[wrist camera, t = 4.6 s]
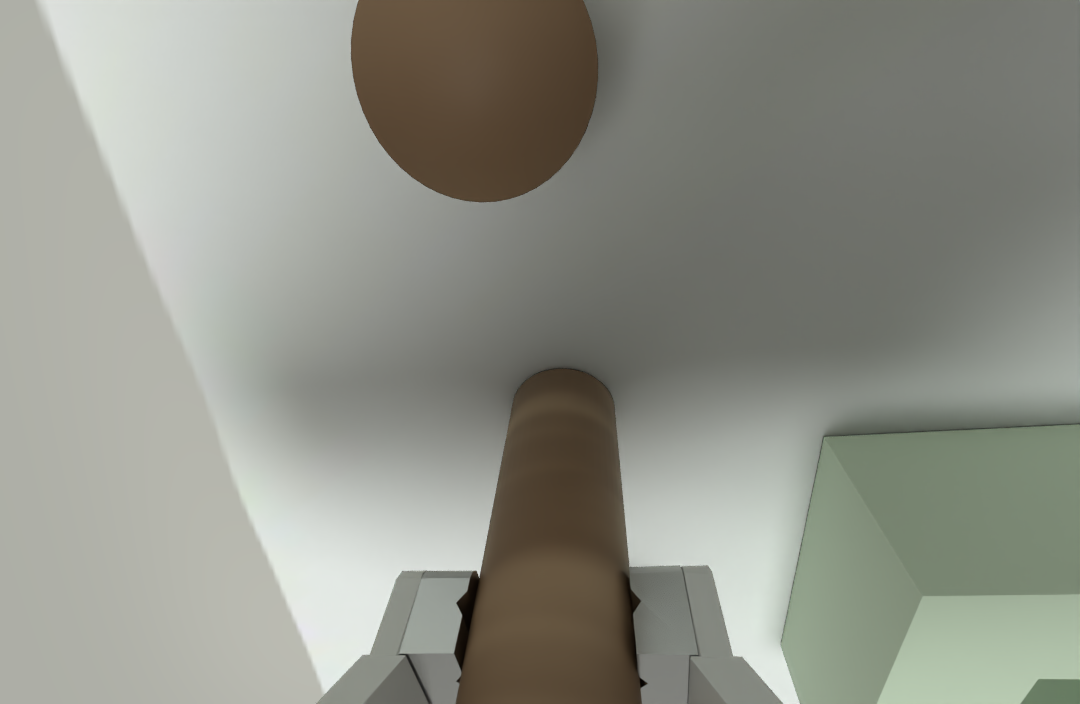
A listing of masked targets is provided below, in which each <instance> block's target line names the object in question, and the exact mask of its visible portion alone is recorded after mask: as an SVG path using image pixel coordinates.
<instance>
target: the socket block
mask: <svg viewBox="0 0 1080 704" xmlns="http://www.w3.org/2000/svg"><path fill="white" fill-rule="evenodd" d="M781 648H782V651H783V654H784V657H785V660H786V663H787V666H788V669H789V672H790V675H791V678H792V681H793V684H794V687H795V690H796V693H797V696H798V699H799V702H800V704H1080V424H1076V425H1055V426H1035V427H1014V428H994V429H974V430H953V431H933V432H913V433H892V434H872V435H852V436H831V437H824V439H823V444H822V449H821V454H820V459H819V463H818V468H817V473H816V478H815V483H814V488H813V492H812V497H811V502H810V507H809V512H808V517H807V521H806V526H805V531H804V536H803V541H802V545H801V550H800V555H799V560H798V565H797V570H796V574H795V579H794V584H793V589H792V594H791V599H790V603H789V608H788V613H787V618H786V623H785V628H784V632H783V637H782V642H781Z"/></svg>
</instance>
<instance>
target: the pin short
mask: <svg viewBox="0 0 1080 704" xmlns="http://www.w3.org/2000/svg"><path fill="white" fill-rule="evenodd" d="M351 61H352V70H353V78H354V82H355V87H356V91H357V95H358V98H359V101H360V104H361V107H362V110H363V113H364V115H365V117H366V119H367V121H368V123H369V126H370V128H371V129H372V131H373V133H374V134H375V136H376V138H377V139H378V141H379V143H380V144H381V145H382V147H383V148H384V149H385V151H386V152H387V153H388V155H389V156H390V157H391V158H392V159H393V160H394V161H395V162H396V163H397V164H398V165H399V166H400V167H401V168H402V169H403V170H404V171H405V172H407V173H408V174H409V175H410V176H411V177H412V178H414V179H415V180H417V181H418V182H420V183H421V184H423V185H425V186H426V187H428V188H430V189H432V190H434V191H436V192H438V193H441V194H443V195H446V196H449V197H452V198H456V199H460V200H465V201H473V202H496V201H501V200H507V199H511V198H514V197H517V196H520V195H523V194H525V193H527V192H529V191H531V190H533V189H535V188H537V187H538V186H540V185H541V184H543V183H544V182H546V181H547V180H549V179H550V178H551V177H552V176H553V175H554V174H555V173H557V172H558V171H559V170H560V169H561V168H562V166H563V165H564V164H565V163H566V162H567V161H568V160H569V158H570V157H571V155H572V154H573V152H574V151H575V149H576V148H577V146H578V145H579V143H580V141H581V139H582V137H583V135H584V133H585V131H586V129H587V126H588V123H589V120H590V118H591V115H592V111H593V107H594V102H595V98H596V91H597V82H598V57H597V48H596V40H595V36H594V32H593V27H592V23H591V20H590V17H589V14H588V12H587V9H586V6H585V3H584V1H583V0H359V1H358V4H357V8H356V12H355V16H354V21H353V29H352V37H351Z"/></svg>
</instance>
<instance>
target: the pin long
mask: <svg viewBox="0 0 1080 704" xmlns="http://www.w3.org/2000/svg"><path fill="white" fill-rule="evenodd" d="M456 704H642V699H641V688H640V677H639V676H638V673H637V662H636V651H635V641H634V626H633V612H632V608H631V595H630V583H629V558H628V548H627V537H626V526H625V515H624V504H623V494H622V483H621V472H620V461H619V450H618V440H617V429H616V418H615V408H614V402H613V399H612V396H611V394H610V392H609V391H608V390H607V388H606V387H605V386H604V385H603V384H602V383H601V382H600V381H598V380H597V379H596V378H594V377H593V376H591V375H589V374H586V373H584V372H581V371H577V370H573V369H551V370H547V371H543V372H540V373H538V374H536V375H534V376H532V377H530V378H529V379H528V380H526V381H525V382H524V383H523V384H522V385H521V386H520V388H519V389H518V390H517V392H516V394H515V397H514V400H513V404H512V410H511V415H510V420H509V425H508V431H507V436H506V441H505V446H504V452H503V457H502V462H501V467H500V473H499V478H498V483H497V488H496V494H495V499H494V504H493V509H492V515H491V520H490V525H489V530H488V536H487V541H486V546H485V551H484V557H483V562H482V567H481V572H480V578H479V583H478V588H477V593H476V599H475V604H474V609H473V615H472V620H471V625H470V630H469V636H468V641H467V646H466V651H465V657H464V662H463V667H462V672H461V678H460V683H459V688H458V693H457V699H456Z"/></svg>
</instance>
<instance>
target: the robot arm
mask: <svg viewBox="0 0 1080 704" xmlns="http://www.w3.org/2000/svg"><path fill="white" fill-rule="evenodd" d="M478 583H479V576H478V574H477V571H402V572H401V573H400V575H399V576H398V578H397V579H396V582H395V584H394V587H393V590H392V593H391V596H390V599H389V602H388V604H387V607H386V610H385V613H384V616H383V619H382V622H381V624H380V627H379V630H378V633H377V636H376V639H375V642H374V644H373V647H372V650H371V653H370V655H362V656H361V657H360V658H359V659H358V660H357V661H356V662H355V663H354V664H353V666H352V667H351V668H350V669H349V670H348V671H347V672H346V673H345V674H344V675H343V676H342V677H341V678H340V679H339V680H338V681H337V682H336V683H335V684H334V685H333V686H332V687H331V688H330V689H329V691H328V692H327V693H326V694H325V695H324V696H323V697H322V698H321V699H320V700H319V701H318V702H317V703H316V704H456V699H457V693H458V688H459V683H460V678H461V672H462V667H463V662H464V657H465V651H466V646H467V641H468V636H469V630H470V625H471V620H472V615H473V609H474V604H475V599H476V593H477V588H478ZM629 583H630V595H631V608H632V612H633V626H634V641H635V651H636V662H637V673H638V676H639V677H640V688H641V699H642V704H783V703H782V702H781V701H780V699H779V698H778V697H777V696H776V695H775V694H774V693H773V691H772V690H771V689H770V688H769V687H768V686H767V685H766V684H765V682H764V681H763V680H762V679H761V678H760V677H759V676H758V674H757V673H756V672H755V671H754V670H753V669H752V668H751V666H750V665H749V664H748V663H747V662H746V661H745V660H744V659H743V657H738V656H733V654H732V650H731V646H730V642H729V638H728V634H727V630H726V626H725V622H724V618H723V614H722V610H721V606H720V602H719V598H718V594H717V590H716V586H715V582H714V578H713V574H712V571H711V569H710V568H709V566H708V565H703V566H680V565H678V566H649V567H629Z"/></svg>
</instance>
